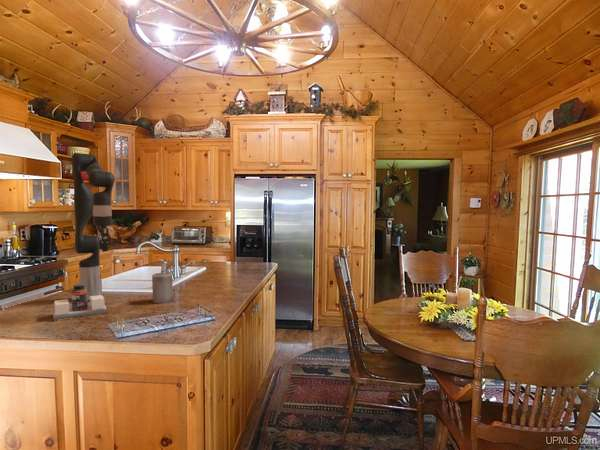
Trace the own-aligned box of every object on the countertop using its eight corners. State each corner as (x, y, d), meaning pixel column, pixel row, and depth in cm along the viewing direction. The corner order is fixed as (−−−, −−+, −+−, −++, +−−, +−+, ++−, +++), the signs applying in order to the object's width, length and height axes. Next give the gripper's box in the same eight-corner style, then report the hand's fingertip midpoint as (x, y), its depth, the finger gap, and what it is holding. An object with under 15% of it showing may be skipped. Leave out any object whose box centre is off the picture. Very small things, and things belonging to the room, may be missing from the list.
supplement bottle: (84, 306, 165) (83, 282, 164) (89, 309, 161) (89, 284, 160) (70, 309, 160) (69, 284, 159) (74, 312, 156) (74, 286, 156)
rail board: (103, 307, 171) (103, 294, 170) (107, 313, 162) (106, 299, 161) (52, 314, 159) (52, 300, 159) (53, 321, 150) (53, 306, 150)
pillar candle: (164, 297, 190) (163, 269, 189) (177, 299, 185) (176, 271, 184) (148, 301, 182) (147, 272, 181) (161, 304, 177) (160, 274, 176)
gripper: (91, 214, 168) (92, 249, 169) (95, 215, 156) (96, 252, 157) (109, 214, 172) (110, 248, 173) (114, 215, 161) (115, 251, 162)
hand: (103, 250), depth 165 cm, fingers open, 8 cm apart
